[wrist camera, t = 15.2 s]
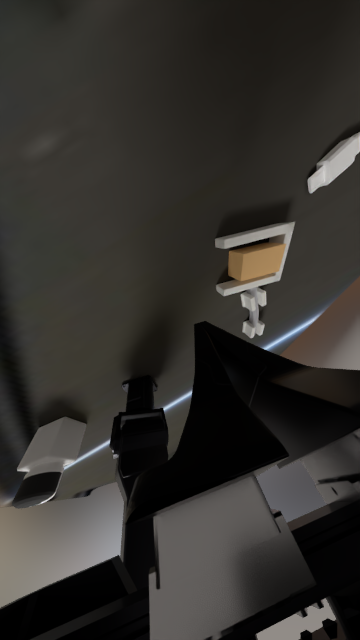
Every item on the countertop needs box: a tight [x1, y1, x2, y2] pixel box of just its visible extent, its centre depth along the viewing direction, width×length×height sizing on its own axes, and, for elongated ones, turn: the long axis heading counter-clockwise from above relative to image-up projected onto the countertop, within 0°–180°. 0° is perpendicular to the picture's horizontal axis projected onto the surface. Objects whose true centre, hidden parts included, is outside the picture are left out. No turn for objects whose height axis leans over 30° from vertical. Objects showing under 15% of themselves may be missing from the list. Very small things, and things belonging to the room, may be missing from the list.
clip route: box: [241, 287, 266, 338], centre depth 25 cm, size 12×4×2 cm, turn 11°
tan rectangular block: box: [228, 242, 286, 281], centre depth 19 cm, size 4×6×4 cm, turn 100°
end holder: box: [215, 222, 295, 296], centre depth 19 cm, size 8×10×2 cm
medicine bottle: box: [12, 416, 87, 508], centre depth 28 cm, size 7×7×12 cm
